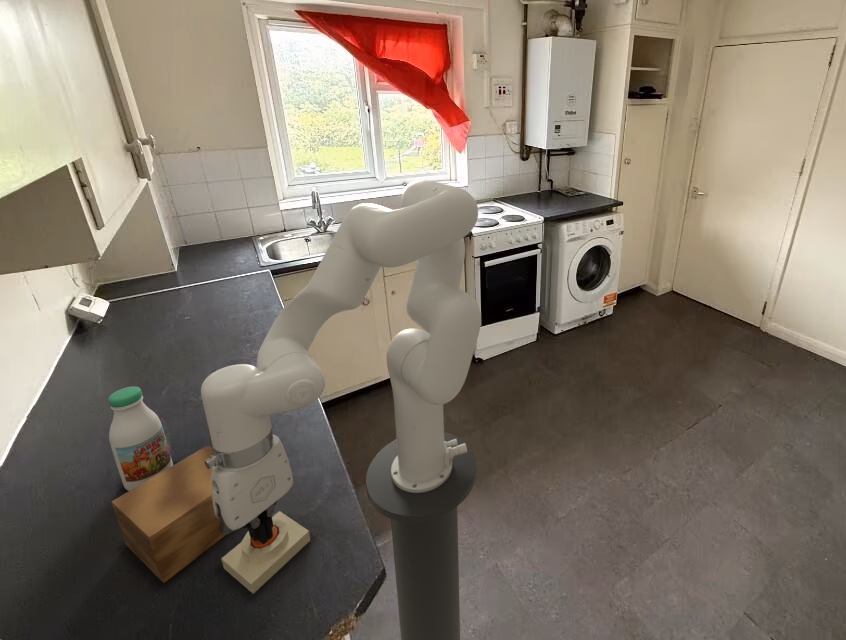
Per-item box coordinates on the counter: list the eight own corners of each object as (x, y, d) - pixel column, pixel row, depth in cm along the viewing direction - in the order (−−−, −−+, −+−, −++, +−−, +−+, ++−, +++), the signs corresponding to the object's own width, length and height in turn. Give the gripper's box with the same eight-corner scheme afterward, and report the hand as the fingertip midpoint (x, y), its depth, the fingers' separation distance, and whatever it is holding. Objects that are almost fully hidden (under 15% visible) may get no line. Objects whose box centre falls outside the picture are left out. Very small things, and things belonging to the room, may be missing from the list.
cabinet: (217, 484, 84) (208, 444, 81) (256, 511, 78) (247, 470, 75) (126, 545, 71) (110, 501, 68) (163, 583, 66) (149, 537, 63)
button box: (281, 520, 76) (278, 502, 75) (310, 540, 73) (307, 522, 72) (223, 568, 68) (218, 550, 67) (253, 594, 64) (248, 575, 63)
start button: (270, 529, 72) (268, 521, 72) (283, 539, 70) (281, 531, 70) (248, 547, 69) (247, 539, 68) (262, 557, 67) (260, 549, 67)
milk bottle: (113, 493, 81) (83, 406, 75) (145, 462, 88) (120, 380, 82) (154, 493, 81) (128, 405, 75) (183, 462, 89) (161, 380, 82)
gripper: (204, 490, 56) (228, 590, 61) (305, 424, 68) (317, 511, 74) (174, 468, 59) (200, 564, 64) (276, 409, 72) (290, 493, 77)
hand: (262, 536), depth 69 cm, fingers closed
